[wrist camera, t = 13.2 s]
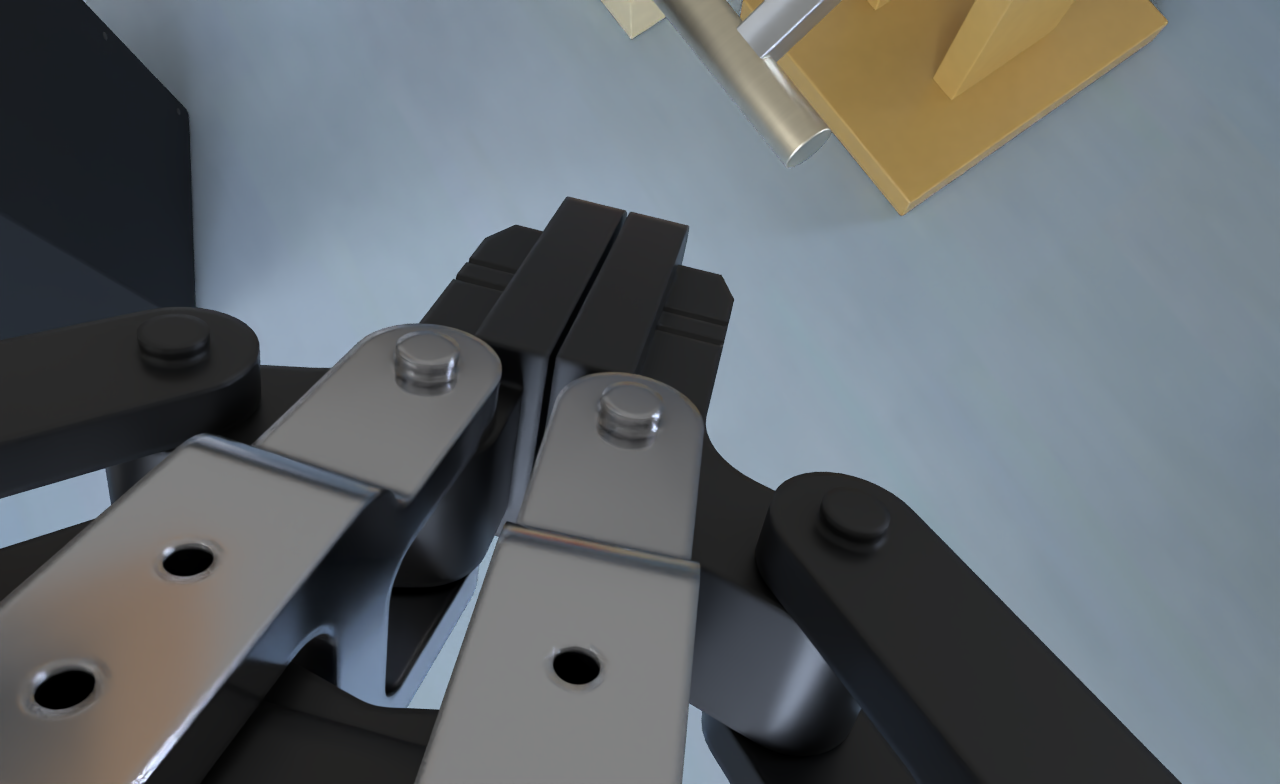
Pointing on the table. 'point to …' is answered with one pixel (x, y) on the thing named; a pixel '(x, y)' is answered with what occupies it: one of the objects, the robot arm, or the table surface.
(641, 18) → the button box
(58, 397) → the robot arm
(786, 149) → the tap lever
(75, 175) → the tissue box
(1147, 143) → the table surface
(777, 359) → the table surface
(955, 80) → the bracket
